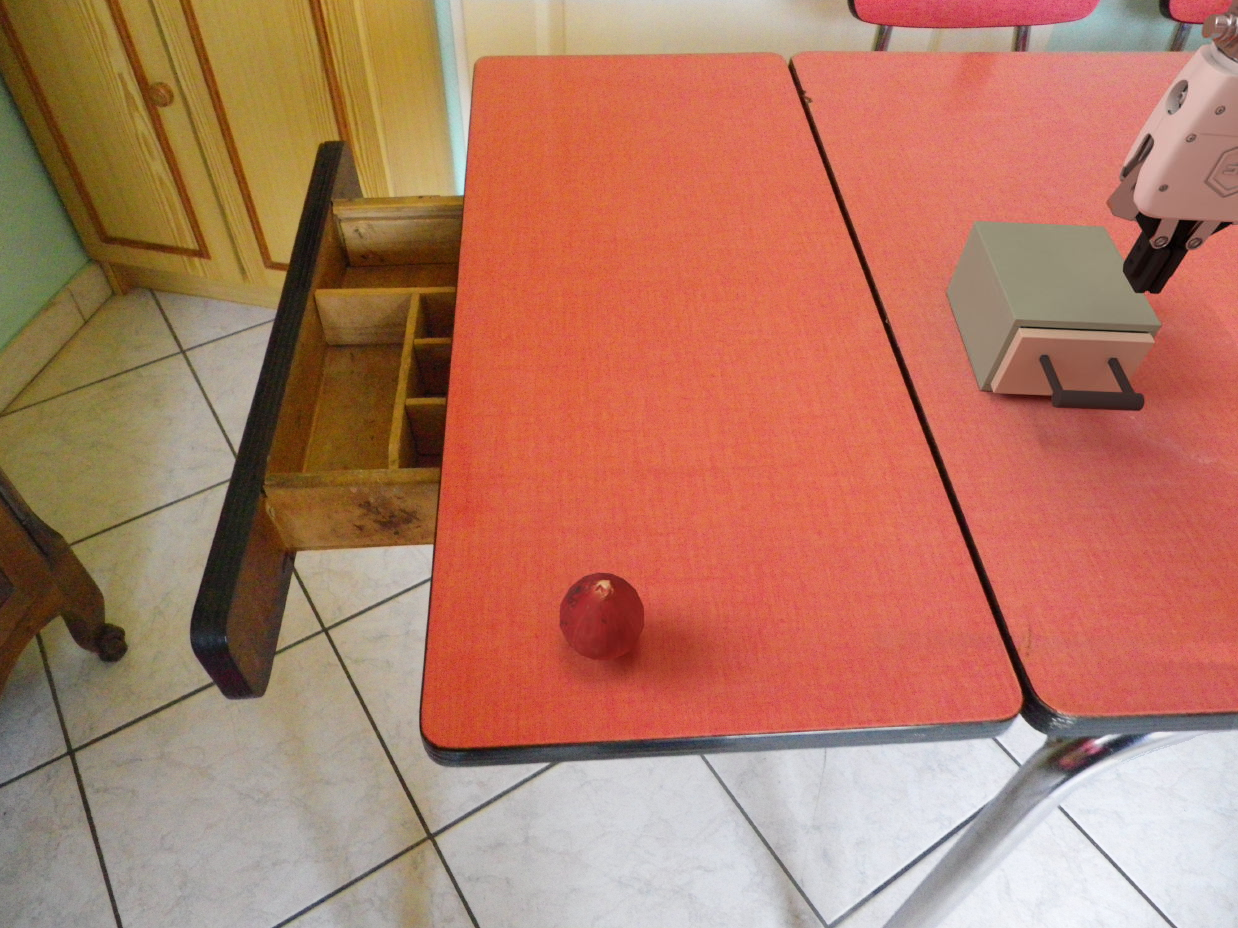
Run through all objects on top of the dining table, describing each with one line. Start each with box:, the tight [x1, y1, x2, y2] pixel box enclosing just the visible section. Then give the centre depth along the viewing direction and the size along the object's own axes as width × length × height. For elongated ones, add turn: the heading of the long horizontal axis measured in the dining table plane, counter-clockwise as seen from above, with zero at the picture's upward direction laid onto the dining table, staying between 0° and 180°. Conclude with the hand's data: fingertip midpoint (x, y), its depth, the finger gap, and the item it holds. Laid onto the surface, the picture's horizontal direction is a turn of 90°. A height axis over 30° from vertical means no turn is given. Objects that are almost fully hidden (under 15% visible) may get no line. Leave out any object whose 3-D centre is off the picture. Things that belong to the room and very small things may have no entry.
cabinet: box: [945, 220, 1163, 392], centre depth 80 cm, size 15×13×9 cm
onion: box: [558, 572, 645, 661], centre depth 58 cm, size 6×6×8 cm
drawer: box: [991, 326, 1156, 412], centre depth 77 cm, size 19×11×7 cm, turn 178°
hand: (1139, 282), depth 66 cm, fingers closed
